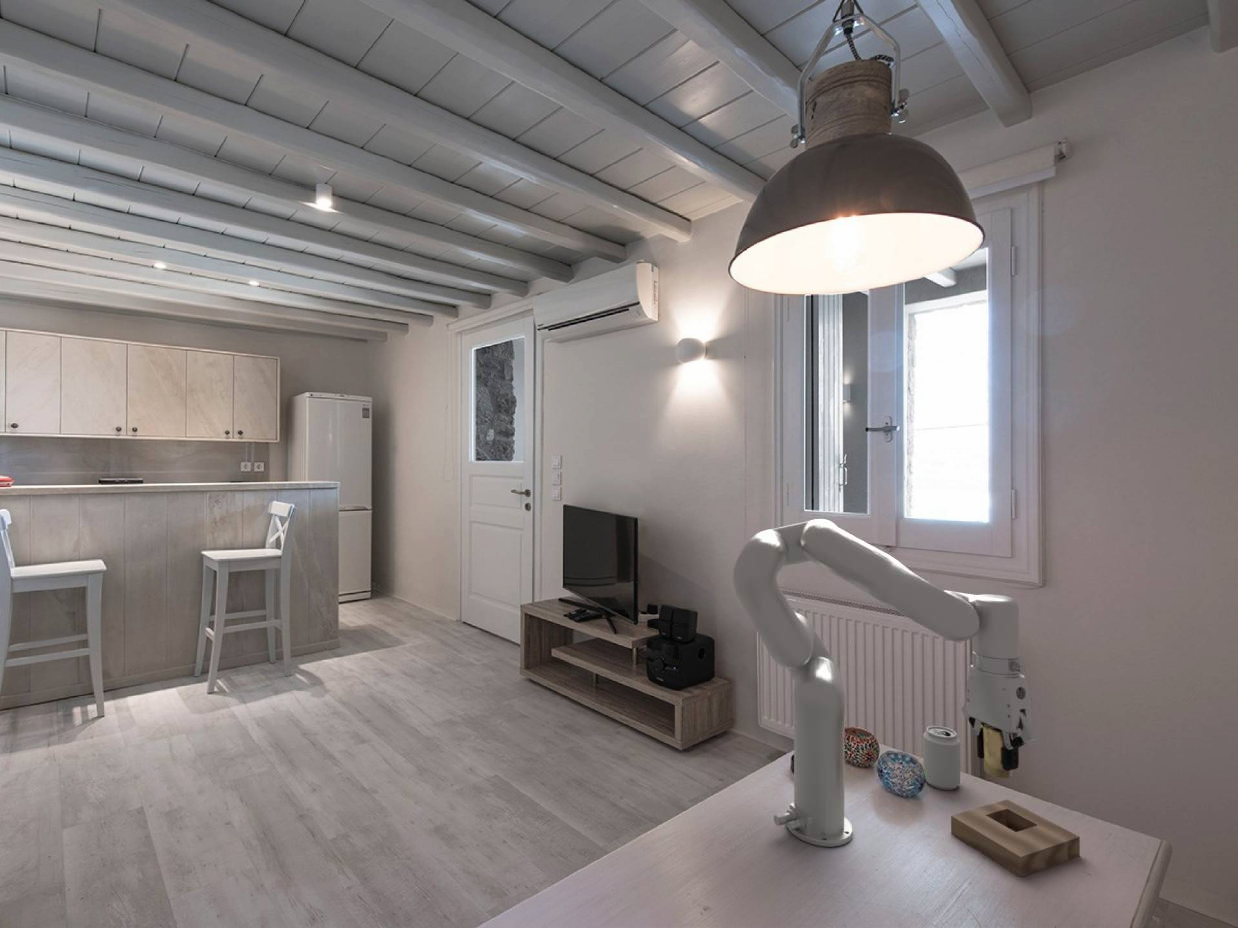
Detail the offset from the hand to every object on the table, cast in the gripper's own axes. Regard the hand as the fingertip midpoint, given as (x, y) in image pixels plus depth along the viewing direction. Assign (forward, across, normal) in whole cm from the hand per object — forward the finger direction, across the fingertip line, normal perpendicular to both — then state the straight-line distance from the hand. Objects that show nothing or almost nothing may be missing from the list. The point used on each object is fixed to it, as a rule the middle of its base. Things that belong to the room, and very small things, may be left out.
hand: (997, 761), depth 114 cm
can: (+18, +24, -13) cm, 33 cm away
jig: (+18, +2, -6) cm, 19 cm away
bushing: (+2, 0, 0) cm, 2 cm away
